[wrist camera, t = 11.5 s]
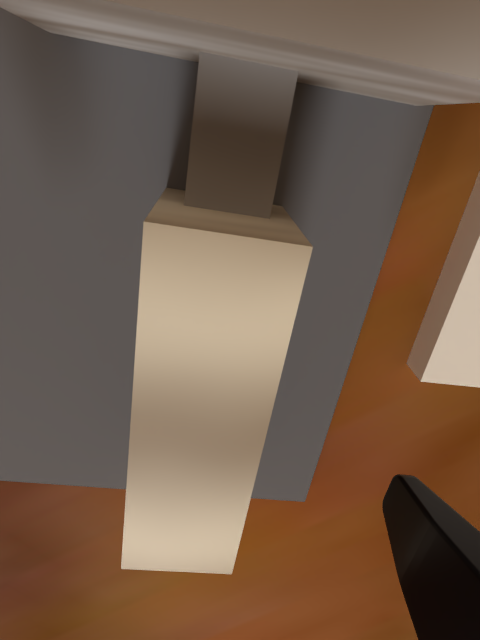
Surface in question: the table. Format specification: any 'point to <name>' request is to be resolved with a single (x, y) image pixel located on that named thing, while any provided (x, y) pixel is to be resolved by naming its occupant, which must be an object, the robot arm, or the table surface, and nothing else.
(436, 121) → the table surface
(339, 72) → the cream saddle block
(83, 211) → the tool mat
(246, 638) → the table surface
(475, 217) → the tile
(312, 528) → the table surface
